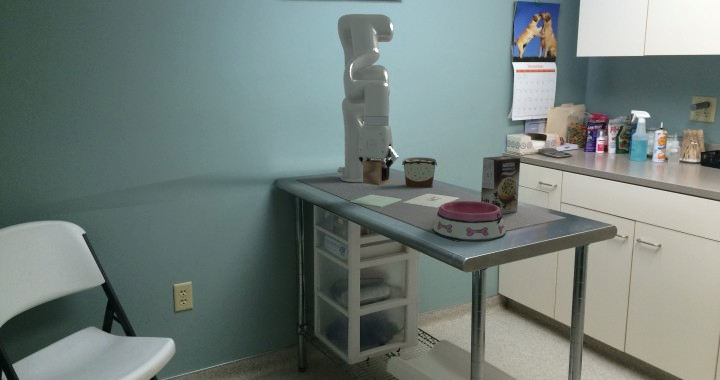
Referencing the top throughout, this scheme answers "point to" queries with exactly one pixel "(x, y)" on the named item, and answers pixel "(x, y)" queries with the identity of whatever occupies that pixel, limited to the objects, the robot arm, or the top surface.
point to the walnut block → (373, 172)
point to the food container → (419, 171)
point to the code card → (431, 200)
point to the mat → (376, 200)
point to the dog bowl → (469, 221)
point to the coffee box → (501, 182)
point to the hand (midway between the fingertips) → (376, 178)
